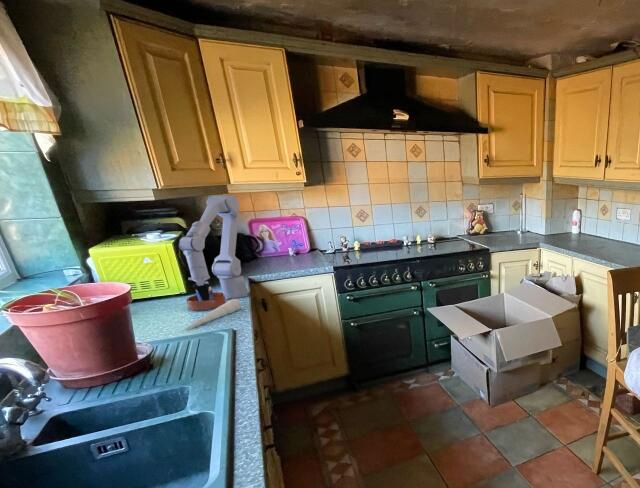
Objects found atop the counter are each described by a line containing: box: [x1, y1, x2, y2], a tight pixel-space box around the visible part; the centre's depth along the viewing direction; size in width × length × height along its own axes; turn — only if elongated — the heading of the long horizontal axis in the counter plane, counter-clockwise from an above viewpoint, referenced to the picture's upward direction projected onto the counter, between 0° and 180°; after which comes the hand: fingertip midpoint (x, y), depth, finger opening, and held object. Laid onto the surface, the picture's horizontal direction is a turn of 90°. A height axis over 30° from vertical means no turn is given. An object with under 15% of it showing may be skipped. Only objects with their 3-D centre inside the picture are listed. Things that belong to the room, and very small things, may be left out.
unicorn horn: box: [185, 298, 242, 330], centre depth 161 cm, size 5×24×5 cm, turn 165°
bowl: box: [186, 291, 227, 312], centre depth 175 cm, size 13×13×4 cm
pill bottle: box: [195, 281, 214, 301], centre depth 174 cm, size 6×5×10 cm
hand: (206, 298), depth 175 cm, fingers closed on pill bottle, 5 cm apart
